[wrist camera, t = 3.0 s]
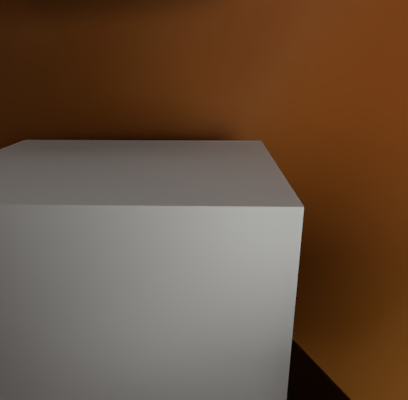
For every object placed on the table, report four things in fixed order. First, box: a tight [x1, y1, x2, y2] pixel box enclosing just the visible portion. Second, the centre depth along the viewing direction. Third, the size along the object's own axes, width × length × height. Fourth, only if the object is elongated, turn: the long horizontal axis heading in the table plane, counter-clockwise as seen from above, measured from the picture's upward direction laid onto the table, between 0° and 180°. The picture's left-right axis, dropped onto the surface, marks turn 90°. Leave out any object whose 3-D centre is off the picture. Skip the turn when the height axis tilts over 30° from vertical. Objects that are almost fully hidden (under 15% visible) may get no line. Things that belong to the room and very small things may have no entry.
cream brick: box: [0, 140, 304, 400], centre depth 7 cm, size 5×8×4 cm, turn 0°
